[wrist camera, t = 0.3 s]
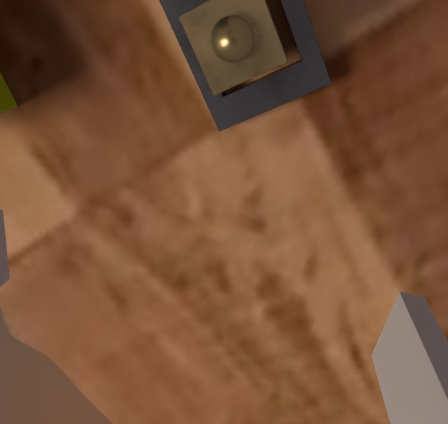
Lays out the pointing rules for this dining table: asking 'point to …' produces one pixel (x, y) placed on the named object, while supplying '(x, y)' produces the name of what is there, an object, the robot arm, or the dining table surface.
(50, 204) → the dining table surface
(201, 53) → the tan block with knob
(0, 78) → the puzzle toy
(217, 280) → the dining table surface
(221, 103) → the grey flat plate
